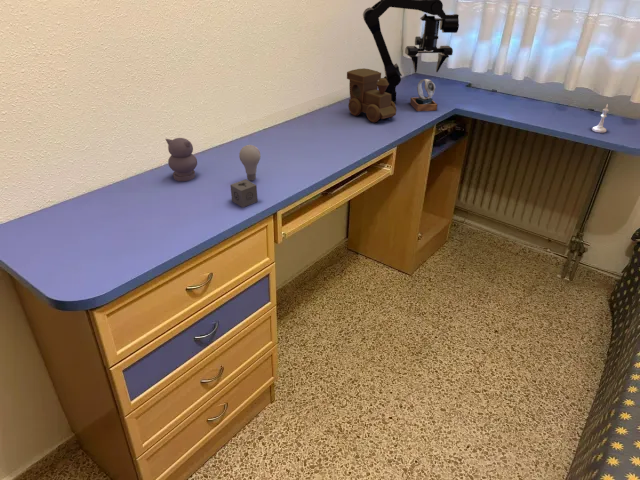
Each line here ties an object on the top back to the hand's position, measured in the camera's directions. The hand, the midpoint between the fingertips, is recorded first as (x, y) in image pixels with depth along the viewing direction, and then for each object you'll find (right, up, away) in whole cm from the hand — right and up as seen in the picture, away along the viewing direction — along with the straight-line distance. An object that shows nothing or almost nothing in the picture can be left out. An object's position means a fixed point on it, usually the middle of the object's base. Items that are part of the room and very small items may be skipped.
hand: (426, 72), depth 204 cm
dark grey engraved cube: (-66, -61, -71) cm, 114 cm away
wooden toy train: (-24, -21, -9) cm, 34 cm away
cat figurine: (-86, -52, -58) cm, 116 cm away
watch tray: (-1, -14, +2) cm, 14 cm away
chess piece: (+61, -30, -21) cm, 71 cm away
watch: (-1, -14, +2) cm, 14 cm away
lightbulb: (-65, -54, -60) cm, 104 cm away
